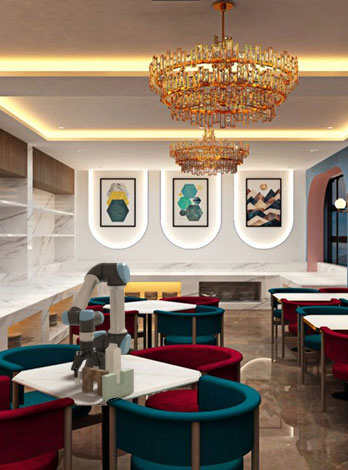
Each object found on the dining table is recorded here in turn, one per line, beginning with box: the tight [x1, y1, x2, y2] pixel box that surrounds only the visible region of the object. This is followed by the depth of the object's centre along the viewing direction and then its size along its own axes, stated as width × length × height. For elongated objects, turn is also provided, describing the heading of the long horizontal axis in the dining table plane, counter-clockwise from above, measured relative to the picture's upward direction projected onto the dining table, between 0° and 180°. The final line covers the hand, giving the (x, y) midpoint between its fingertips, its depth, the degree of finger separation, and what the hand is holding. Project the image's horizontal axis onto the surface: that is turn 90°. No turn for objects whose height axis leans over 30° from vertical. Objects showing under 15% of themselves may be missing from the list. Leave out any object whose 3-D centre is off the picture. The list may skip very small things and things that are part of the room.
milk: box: [106, 343, 122, 384], centre depth 294 cm, size 6×6×22 cm
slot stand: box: [101, 367, 135, 403], centre depth 271 cm, size 20×3×12 cm, turn 144°
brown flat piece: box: [81, 366, 109, 396], centre depth 277 cm, size 16×3×12 cm, turn 54°
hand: (86, 381), depth 281 cm, fingers open, 13 cm apart
